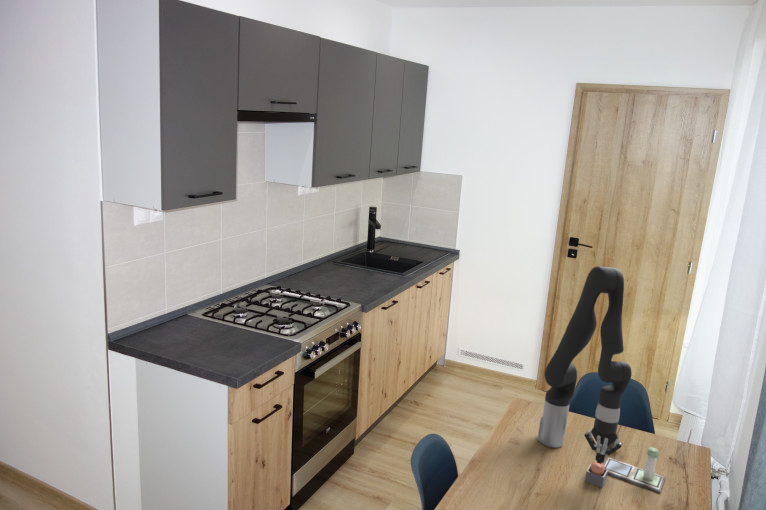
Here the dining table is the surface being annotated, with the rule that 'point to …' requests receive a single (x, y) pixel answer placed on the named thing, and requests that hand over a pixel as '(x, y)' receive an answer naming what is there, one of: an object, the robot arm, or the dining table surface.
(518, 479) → the dining table surface
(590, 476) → the button housing
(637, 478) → the picture board
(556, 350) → the robot arm
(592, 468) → the button
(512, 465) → the dining table surface
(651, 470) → the marker
